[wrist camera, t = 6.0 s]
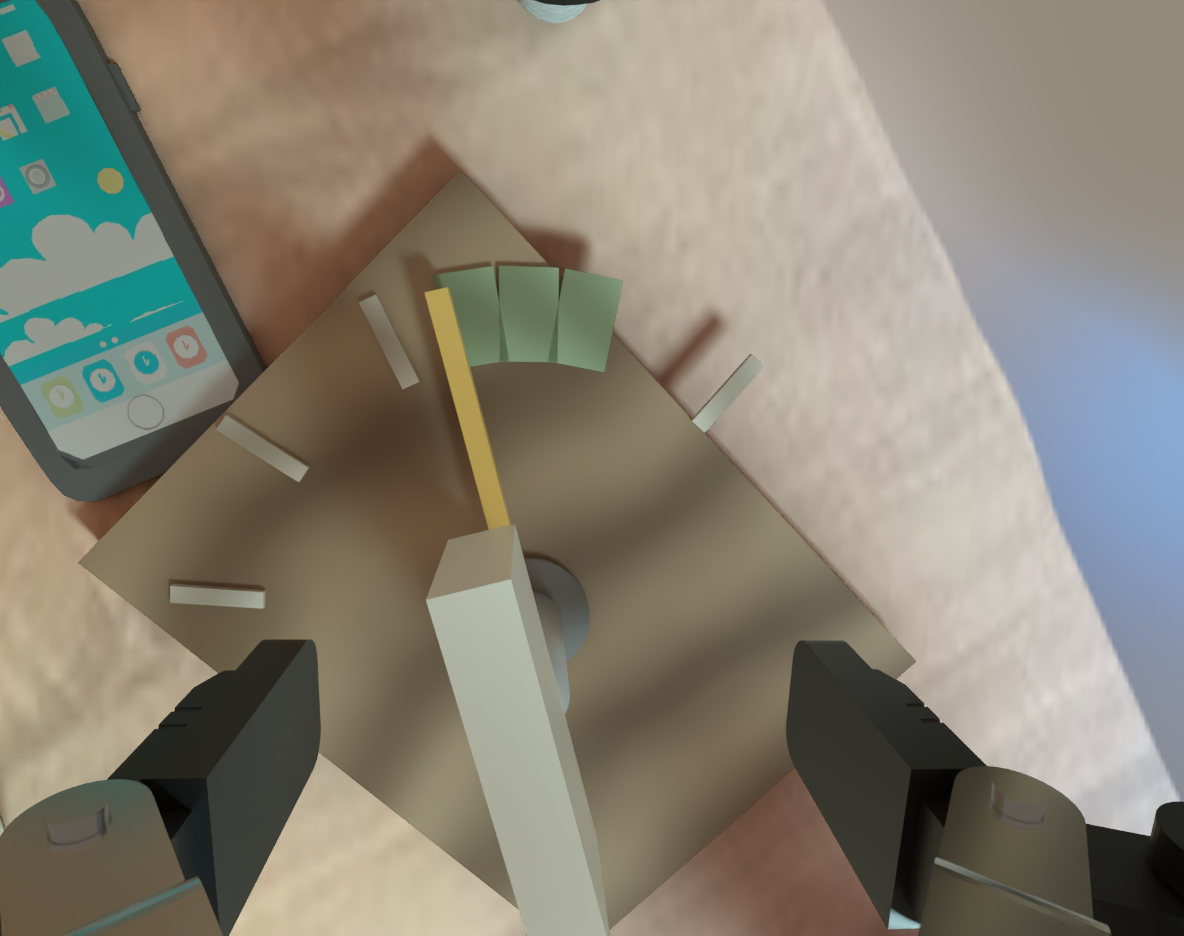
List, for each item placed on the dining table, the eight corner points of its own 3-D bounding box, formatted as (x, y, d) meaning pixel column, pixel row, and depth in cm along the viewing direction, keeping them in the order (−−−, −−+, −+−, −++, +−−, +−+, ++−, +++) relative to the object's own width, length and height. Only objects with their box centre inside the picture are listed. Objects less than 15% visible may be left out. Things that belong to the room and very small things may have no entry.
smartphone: (58, 517, 23) (-226, 58, 20) (76, 509, 24) (-192, 69, 21) (292, 420, 23) (48, -55, 20) (301, 416, 24) (70, -38, 21)
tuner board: (952, 593, 28) (980, 612, 26) (576, 925, 29) (579, 963, 28) (529, 113, 23) (529, 95, 21) (104, 547, 24) (71, 565, 23)
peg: (592, 739, 25) (624, 956, 17) (528, 755, 25) (527, 982, 16) (476, 282, 21) (441, 257, 13) (400, 299, 21) (314, 286, 13)
